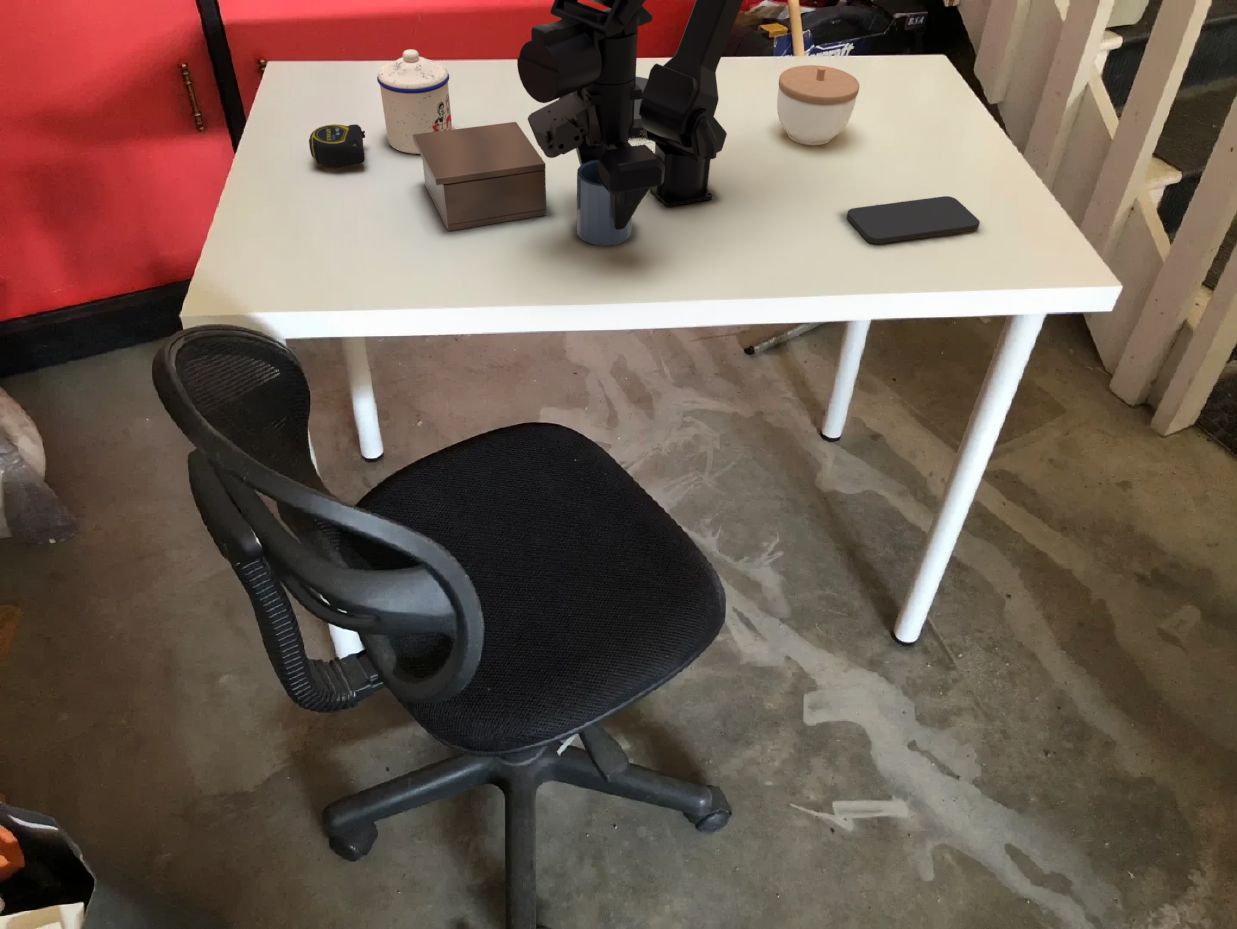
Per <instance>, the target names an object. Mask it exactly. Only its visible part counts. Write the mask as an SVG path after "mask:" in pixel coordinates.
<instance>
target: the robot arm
mask: <svg viewBox="0 0 1237 929" xmlns="http://www.w3.org/2000/svg"><path fill="white" fill-rule="evenodd" d="M588 1H589V2H593V3H595V4H598V5H600V6H603V7H606V8H605V9H603V10H601V9H598V8H596V7H593V6H590V5H587V4H585V3H582V2H579V0H554V1H553V3H552V6H551V8H550V11H549V12H550V15H551V16H552V17H556V18H559V19H560V20H556V21H554V22H550V23H547V24H543V23H542V24H537V25H535V26H532V28H531V29H530V34H531V35H530V37H531V40H529V41H527V42H525V43H524V44H523V45H522V46H521V48H520V51H519V56H518V57H517V59H516V66H517V72H518V76H519V80H520V82H521V84H522V87H523V88H524V90H525V91H526V93H527V94H528V95H529V96H530V97H531V99H533V100H534V101H536V102H537V103H539V104H540V103H541V104H547V105H545V106H543V107H541V108H539V109H538V110H535V111H533V112H532V113H530V114H529V115H528V117H527V122H528V124H529V126H530V129H531V131H532V134H533V136H534V138H535V141H536V144H537V146H538V147H539V148H540V149H541V151H542V152H543V154H544V155H545V157H546V158H548V159H553V158H556V157H559V156H561V155H566V154H568V153H570V152H571V151H573V150H575V152H576V155H577V158H578V162H579V167H580V166H581V165H582V164H584V163H587V162H589V161H593V160H598V170H599V174H600V178H598V180H599V181H600V182H601V184H602V185H603V186H604V188H605V189H606V190H607V191H608V192H609V193H610V196H611V205H612V213H613V220H614V227H615V229H616V230H620V229H624V228H625V227H626V225H627V223H628V222H629V220H630V219H631V217H632V218H633V215H634V214H635V212H636V210H637V209H638V207H639V205H640V204H641V202H642V201H643V199H644V198H645V196H646V195H647V194H648V192H650V190H652V192H653V193H654V194H655V195H656V197H657V198H658V199H659V200H660V202H662V204H663V205H664V206H666V207H674V206H680V205H686V204H691V203H697V202H702V201H710V200H712V199H714V194H713V193H712V191H711V190H710V189H709V188H708V186H709V179H710V178H709V177H710V169H711V160H715V159H716V158H717V154H718V153H720V152H722V151H723V148H724V145H725V141H726V138H727V136H728V133H727V131H726V130H725V128H723V126H722V125H721V124H720V122H719V121H718V120H717V119H716V117H715V114H716V110H717V106H718V105H719V104H718V103H719V91H718V81H717V70H718V66H719V63H720V62H721V59H722V57H723V53H724V50H725V48H726V45H727V43H728V40H729V38H730V36H731V33H732V30H733V28H734V25H735V23H736V20H737V18H738V15H739V12H740V10H741V7H742V5H743V2H744V0H695V2H694V5H693V8H692V9H691V12H690V13H691V14H689V15H690V16H689V18H688V21H687V23H686V27H685V28H684V31H683V34H682V36H681V37H682V38H681V39H680V42H679V45H678V48H677V50H676V52H675V54H674V55H673V56H672V57H671V58H670V59H669V60H668V61H667V62H666V63H664V64H663V65H661V64H660V63H654V64H653V66H652V67H651V68H650V70H649V74H648V78H647V79H648V81H647V84H646V86H645V89H644V90H643V92H642V89H641V88H640V87H639V86H638V85H637V84H636V77H637V61H638V60H637V58H638V39H639V38H638V37H639V27H642V26H645V25H647V24H649V23H651V22H652V21H653V19H654V17H653V15H652V14H651V13H650V12H649V11H648V10H647V9H646V8H645V7H644V6H643V5H644V3H645V2H646V0H588ZM571 93H572V94H571ZM638 99H642V100H641V103H640V108H639V116H641V121H642V125H643V129H644V133H645V134H644V138H645V139H646V140H647V141H652V142H654V151H653V150H651V148H650V147H648V145H646V144H640V145H633V146H632V144H631V143H630V142H629V139H632V138H636V137H640V136H641V135H640V127H639V126H638V125H637V123H636V122H635V121H634V104H635V100H638Z"/></svg>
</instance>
